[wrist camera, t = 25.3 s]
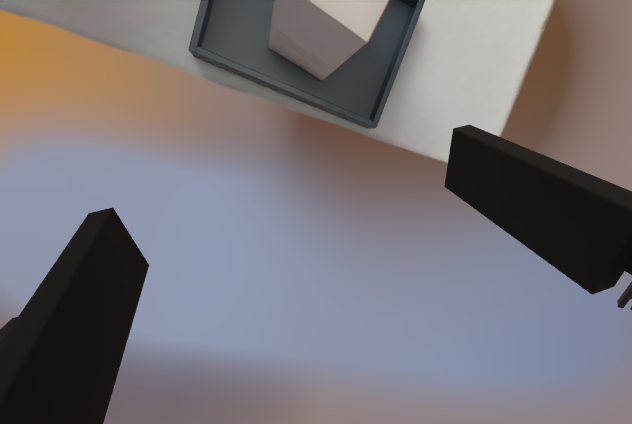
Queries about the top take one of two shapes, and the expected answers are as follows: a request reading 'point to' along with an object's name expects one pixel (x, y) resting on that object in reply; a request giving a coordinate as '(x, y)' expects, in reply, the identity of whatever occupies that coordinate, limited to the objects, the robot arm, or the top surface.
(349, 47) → the small box
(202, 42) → the tray
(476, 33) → the top surface
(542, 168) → the robot arm
